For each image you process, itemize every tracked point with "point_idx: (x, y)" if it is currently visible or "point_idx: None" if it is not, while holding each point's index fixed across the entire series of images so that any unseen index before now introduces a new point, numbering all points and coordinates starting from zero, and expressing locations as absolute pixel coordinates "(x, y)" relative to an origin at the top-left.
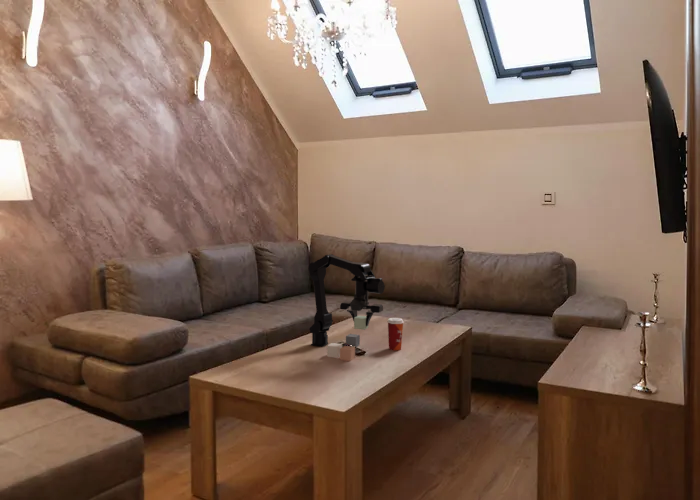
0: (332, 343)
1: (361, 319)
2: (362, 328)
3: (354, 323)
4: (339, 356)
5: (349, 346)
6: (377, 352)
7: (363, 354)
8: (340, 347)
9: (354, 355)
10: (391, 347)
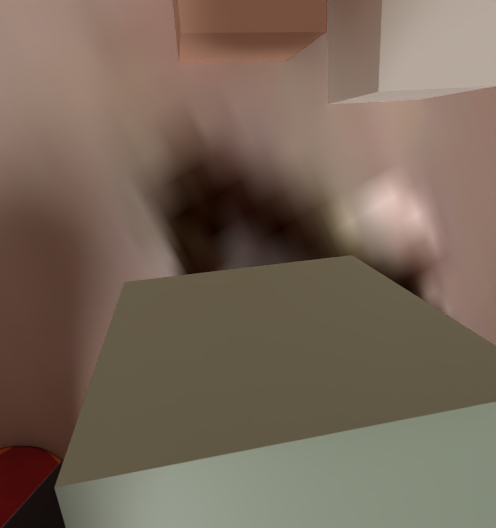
0: (484, 66)
1: (224, 416)
2: (171, 284)
3: (405, 297)
4: (328, 38)
5: (258, 24)
6: (90, 331)
7: (166, 215)
8: (366, 41)
9: (177, 39)
10: (17, 461)
